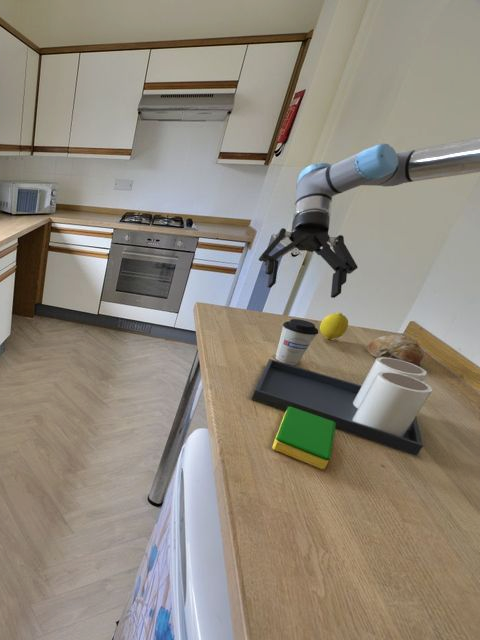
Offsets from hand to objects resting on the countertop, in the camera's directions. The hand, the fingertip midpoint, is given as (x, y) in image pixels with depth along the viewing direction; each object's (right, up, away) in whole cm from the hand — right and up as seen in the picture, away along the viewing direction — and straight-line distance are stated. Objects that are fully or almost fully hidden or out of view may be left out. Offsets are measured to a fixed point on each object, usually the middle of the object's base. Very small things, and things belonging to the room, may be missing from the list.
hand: (303, 290), depth 102 cm
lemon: (+17, -12, +12) cm, 24 cm away
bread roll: (+25, -17, +3) cm, 31 cm away
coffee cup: (-5, -18, -1) cm, 18 cm away
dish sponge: (-25, -30, -30) cm, 49 cm away
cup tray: (-10, -26, -19) cm, 33 cm away
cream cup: (-3, -26, -21) cm, 34 cm away
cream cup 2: (-8, -29, -26) cm, 40 cm away
